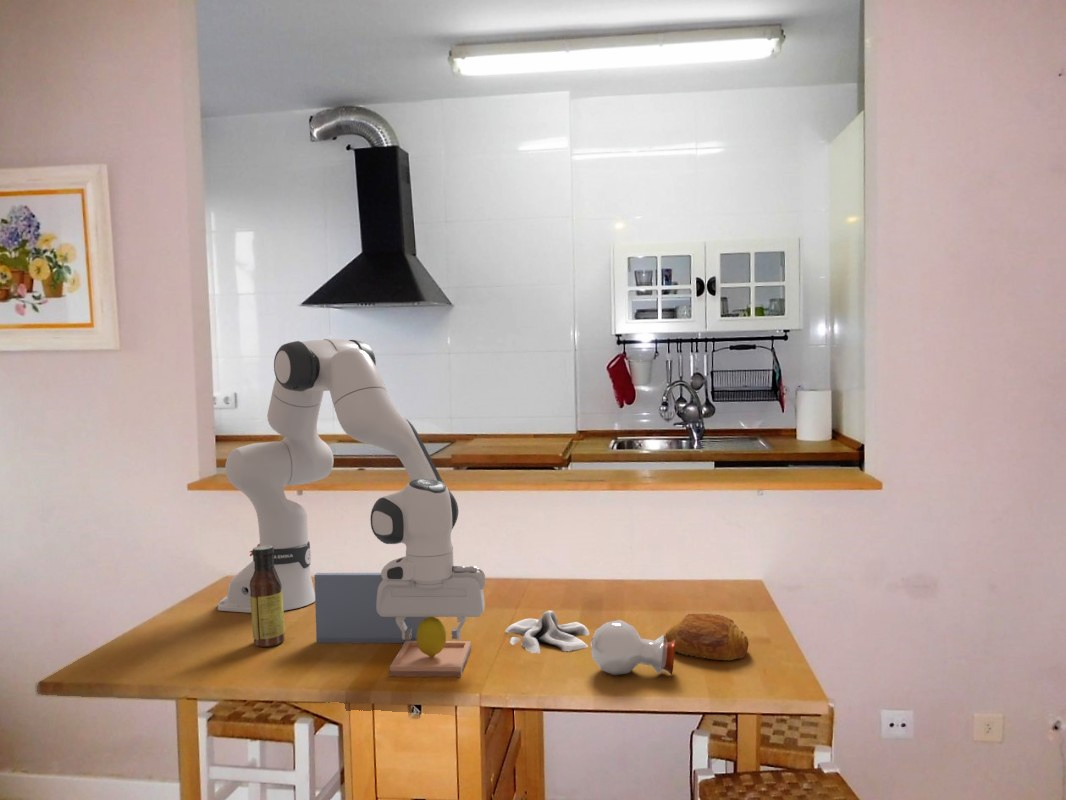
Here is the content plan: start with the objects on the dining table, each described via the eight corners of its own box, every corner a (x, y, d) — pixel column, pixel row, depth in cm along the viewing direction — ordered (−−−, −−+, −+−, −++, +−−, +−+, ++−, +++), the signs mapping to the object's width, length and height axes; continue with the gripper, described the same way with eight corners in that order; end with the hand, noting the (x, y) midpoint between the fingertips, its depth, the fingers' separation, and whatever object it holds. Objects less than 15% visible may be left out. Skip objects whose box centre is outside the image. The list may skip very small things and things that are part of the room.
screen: (316, 642, 156) (314, 575, 156) (324, 634, 161) (322, 568, 161) (432, 643, 155) (430, 574, 154) (437, 634, 160) (435, 568, 159)
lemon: (441, 664, 141) (440, 621, 141) (412, 662, 142) (411, 620, 142) (450, 653, 147) (449, 612, 146) (423, 651, 148) (422, 610, 147)
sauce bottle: (291, 639, 159) (288, 544, 158) (272, 649, 153) (268, 551, 152) (265, 636, 161) (262, 542, 160) (245, 646, 155) (241, 549, 154)
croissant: (735, 681, 139) (741, 639, 138) (656, 654, 147) (660, 614, 146) (756, 652, 151) (762, 614, 150) (682, 629, 159) (686, 592, 158)
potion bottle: (587, 675, 141) (669, 689, 138) (585, 661, 133) (673, 676, 130) (594, 625, 146) (674, 638, 143) (593, 609, 137) (677, 623, 135)
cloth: (507, 622, 168) (507, 595, 168) (592, 624, 166) (591, 596, 166) (492, 662, 146) (491, 630, 146) (589, 664, 144) (589, 632, 144)
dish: (390, 676, 138) (389, 666, 138) (406, 649, 151) (406, 640, 151) (461, 676, 138) (460, 667, 138) (471, 650, 151) (471, 641, 151)
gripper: (486, 561, 146) (488, 633, 147) (381, 562, 148) (383, 632, 148) (482, 570, 140) (484, 645, 141) (372, 570, 141) (374, 644, 142)
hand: (431, 638), depth 144 cm, fingers open, 8 cm apart
